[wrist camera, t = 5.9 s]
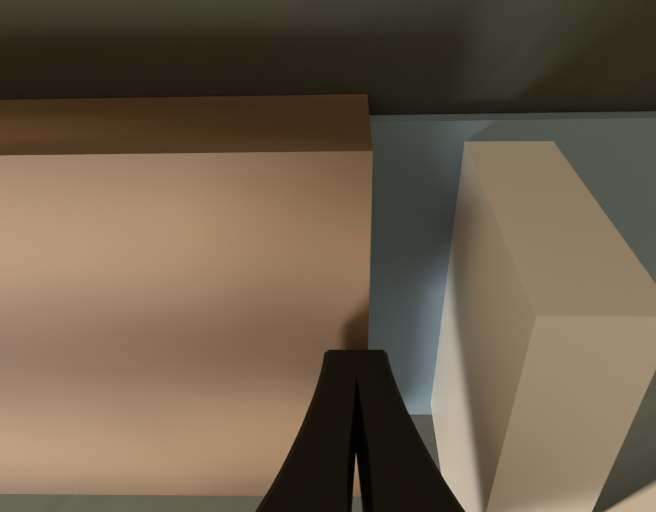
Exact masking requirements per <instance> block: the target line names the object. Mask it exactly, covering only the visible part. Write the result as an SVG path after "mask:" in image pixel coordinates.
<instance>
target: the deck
mask: <svg viewBox="0 0 656 512" xmlns="http://www.w3.org/2000/svg"><path fill="white" fill-rule="evenodd" d="M372 164H373V148H372V137H371V127H370V117H369V106H368V96H367V94H336V95H271V96H206V97H141V98H75V99H10V100H0V494H92V495H223V496H265V495H266V494H267V492H268V490H269V488H270V487H271V485H272V483H273V482H274V480H275V478H276V476H277V474H278V472H279V471H280V469H281V467H282V465H283V463H284V461H285V459H286V457H287V455H288V453H289V451H290V449H291V447H292V445H293V442H294V440H295V438H296V436H297V434H298V432H299V430H300V428H301V425H302V423H303V420H304V418H305V415H306V413H307V410H308V408H309V405H310V403H311V400H312V398H313V395H314V392H315V389H316V386H317V383H318V379H319V376H320V372H321V368H322V364H323V358H324V353H325V352H327V351H328V350H368V334H369V292H370V249H371V207H372ZM353 496H354V497H361V493H360V484H359V475H358V466H357V457H356V459H355V473H354V486H353Z"/></svg>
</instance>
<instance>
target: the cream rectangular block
mask: <svg viewBox="0 0 656 512" xmlns="http://www.w3.org/2000/svg"><path fill="white" fill-rule="evenodd" d="M655 370H656V283H655V282H654V281H653V279H652V278H651V276H650V275H649V274H648V272H647V271H646V269H645V268H644V267H643V265H642V264H641V262H640V261H639V260H638V258H637V257H636V255H635V254H634V253H633V251H632V250H631V249H630V247H629V246H628V244H627V243H626V242H625V240H624V239H623V237H622V236H621V235H620V233H619V232H618V230H617V229H616V228H615V226H614V225H613V223H612V222H611V221H610V219H609V218H608V216H607V215H606V214H605V212H604V211H603V210H602V208H601V207H600V205H599V204H598V203H597V201H596V200H595V198H594V197H593V196H592V194H591V193H590V191H589V190H588V189H587V187H586V186H585V184H584V183H583V182H582V180H581V179H580V178H579V176H578V175H577V173H576V172H575V171H574V169H573V168H572V166H571V165H570V164H569V162H568V161H567V159H566V158H565V157H564V155H563V154H562V152H561V151H560V150H559V148H558V147H557V146H556V144H555V143H554V141H464V149H463V157H462V165H461V172H460V180H459V188H458V196H457V203H456V211H455V219H454V227H453V234H452V242H451V250H450V258H449V265H448V273H447V281H446V289H445V296H444V304H443V312H442V320H441V327H440V335H439V343H438V351H437V358H436V366H435V374H434V382H433V389H432V397H431V410H432V416H433V423H434V430H435V436H436V443H437V449H438V456H439V462H440V469H441V475H442V476H443V478H444V480H445V481H446V483H447V485H448V486H449V488H450V489H451V491H452V492H453V494H454V495H455V497H456V498H457V500H458V502H459V503H460V504H461V506H462V507H463V509H464V510H465V512H592V510H593V508H594V506H595V504H596V502H597V499H598V497H599V495H600V493H601V490H602V488H603V486H604V484H605V481H606V479H607V477H608V475H609V473H610V470H611V468H612V466H613V464H614V461H615V459H616V457H617V455H618V453H619V450H620V448H621V446H622V444H623V441H624V439H625V437H626V435H627V432H628V430H629V428H630V426H631V424H632V421H633V419H634V417H635V415H636V412H637V410H638V408H639V406H640V403H641V401H642V399H643V397H644V395H645V392H646V390H647V388H648V386H649V383H650V381H651V379H652V377H653V375H654V372H655Z"/></svg>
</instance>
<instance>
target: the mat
mask: <svg viewBox="0 0 656 512" xmlns="http://www.w3.org/2000/svg"><path fill="white" fill-rule="evenodd" d="M369 117H370V127H371V137H372V148H373V164H372V207H371V249H370V292H369V334H368V350H384V351H385V352H386V353H387V354H388V359H389V363H390V366H391V370H392V373H393V376H394V379H395V381H396V384H397V387H398V389H399V392H400V394H401V397H402V399H403V402H404V404H405V406H406V408H407V411H408V413H409V414H432V410H431V397H432V389H433V382H434V374H435V366H436V358H437V351H438V343H439V335H440V327H441V320H442V312H443V304H444V296H445V289H446V281H447V273H448V265H449V258H450V250H451V242H452V234H453V227H454V219H455V211H456V203H457V196H458V188H459V180H460V172H461V165H462V157H463V149H464V141H554V143H555V144H556V146H557V147H558V148H559V150H560V151H561V152H562V154H563V155H564V157H565V158H566V159H567V161H568V162H569V164H570V165H571V166H572V168H573V169H574V171H575V172H576V173H577V175H578V176H579V178H580V179H581V180H582V182H583V183H584V184H585V186H586V187H587V189H588V190H589V191H590V193H591V194H592V196H593V197H594V198H595V200H596V201H597V203H598V204H599V205H600V207H601V208H602V210H603V211H604V212H605V214H606V215H607V216H608V218H609V219H610V221H611V222H612V223H613V225H614V226H615V228H616V229H617V230H618V232H619V233H620V235H621V236H622V237H623V239H624V240H625V242H626V243H627V244H628V246H629V247H630V249H631V250H632V251H633V253H634V254H635V255H636V257H637V258H638V260H639V261H640V262H641V264H642V265H643V267H644V268H645V269H646V271H647V272H648V274H649V275H650V276H651V278H652V279H653V281H654V282H655V283H656V111H638V112H567V113H496V114H425V115H369Z"/></svg>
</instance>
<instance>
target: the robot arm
mask: <svg viewBox="0 0 656 512" xmlns="http://www.w3.org/2000/svg"><path fill="white" fill-rule="evenodd" d="M356 457H357V466H358V475H359V484H360V493H361V502H362V511H363V512H465V510H464V509H463V507H462V506H461V504H460V503H459V502H458V500H457V498H456V497H455V495H454V494H453V492H452V491H451V489H450V488H449V486H448V485H447V483H446V481H445V480H444V478H443V476H442V475H441V473H440V471H439V470H438V468H437V466H436V465H435V463H434V461H433V459H432V458H431V456H430V454H429V452H428V450H427V449H426V447H425V445H424V443H423V441H422V439H421V437H420V435H419V433H418V431H417V429H416V427H415V425H414V423H413V421H412V419H411V417H410V415H409V413H408V411H407V408H406V406H405V404H404V402H403V399H402V397H401V394H400V392H399V389H398V387H397V384H396V381H395V379H394V376H393V373H392V370H391V366H390V363H389V359H388V354H387V353H386V352H385V351H384V350H328V351H327V352H325V353H324V358H323V364H322V368H321V372H320V376H319V379H318V383H317V386H316V389H315V392H314V395H313V398H312V400H311V403H310V405H309V408H308V410H307V413H306V415H305V418H304V420H303V423H302V425H301V428H300V430H299V432H298V434H297V436H296V438H295V440H294V442H293V445H292V447H291V449H290V451H289V453H288V455H287V457H286V459H285V461H284V463H283V465H282V467H281V469H280V471H279V472H278V474H277V476H276V478H275V480H274V482H273V483H272V485H271V487H270V488H269V490H268V492H267V494H266V495H265V497H264V499H263V500H262V502H261V504H260V505H259V507H258V508H257V510H256V511H255V512H352V499H353V486H354V473H355V459H356Z"/></svg>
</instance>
